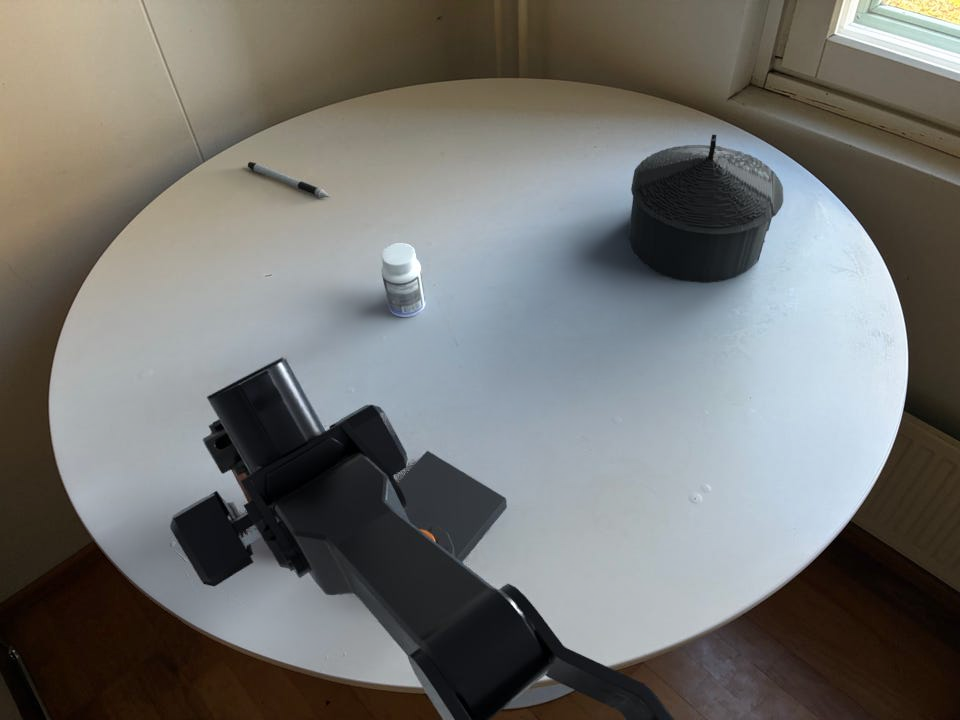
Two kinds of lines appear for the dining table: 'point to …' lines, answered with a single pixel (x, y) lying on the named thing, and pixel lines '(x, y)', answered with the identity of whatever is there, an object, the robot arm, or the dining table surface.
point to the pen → (287, 180)
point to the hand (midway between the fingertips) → (280, 481)
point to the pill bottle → (403, 280)
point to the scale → (449, 504)
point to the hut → (702, 211)
